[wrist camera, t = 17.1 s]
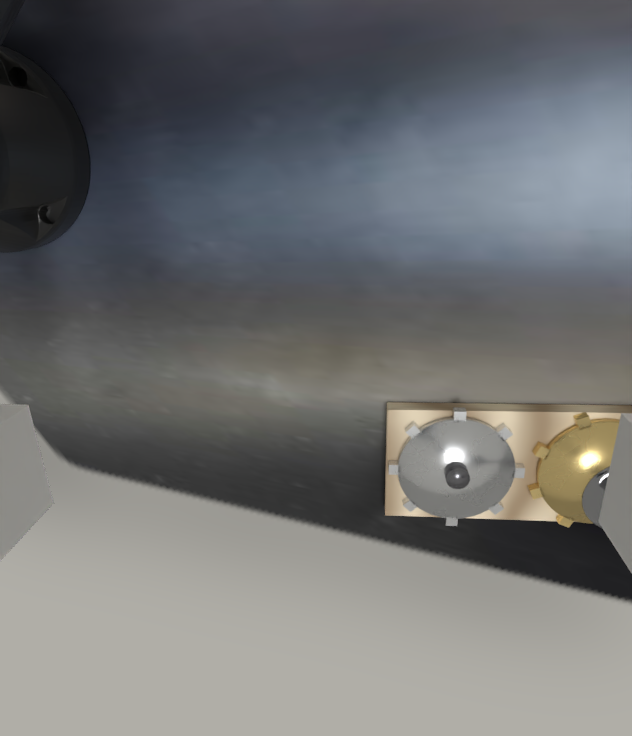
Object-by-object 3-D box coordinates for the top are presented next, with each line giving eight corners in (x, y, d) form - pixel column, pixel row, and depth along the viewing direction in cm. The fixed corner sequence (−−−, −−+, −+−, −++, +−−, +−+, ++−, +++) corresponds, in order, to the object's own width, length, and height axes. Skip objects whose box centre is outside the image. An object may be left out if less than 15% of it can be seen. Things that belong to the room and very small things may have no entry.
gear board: (384, 508, 50) (385, 532, 46) (386, 399, 45) (388, 417, 42) (647, 516, 47) (668, 542, 44) (675, 402, 43) (700, 421, 40)
